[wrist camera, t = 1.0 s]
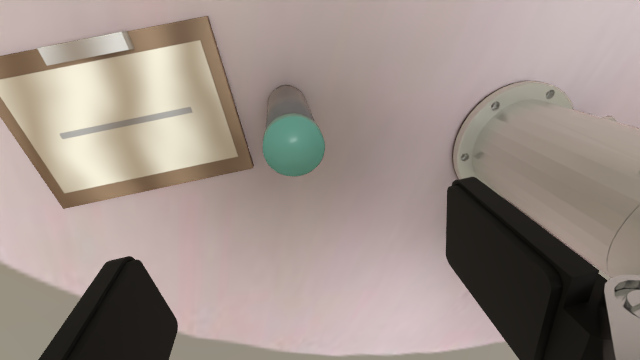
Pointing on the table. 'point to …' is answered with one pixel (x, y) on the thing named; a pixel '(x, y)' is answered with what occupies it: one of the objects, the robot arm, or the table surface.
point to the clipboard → (124, 112)
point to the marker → (291, 134)
